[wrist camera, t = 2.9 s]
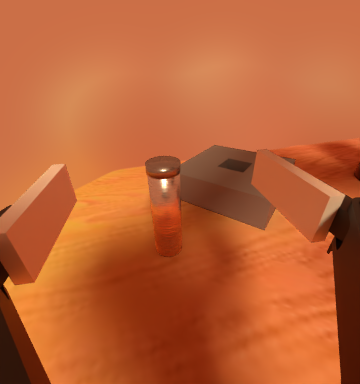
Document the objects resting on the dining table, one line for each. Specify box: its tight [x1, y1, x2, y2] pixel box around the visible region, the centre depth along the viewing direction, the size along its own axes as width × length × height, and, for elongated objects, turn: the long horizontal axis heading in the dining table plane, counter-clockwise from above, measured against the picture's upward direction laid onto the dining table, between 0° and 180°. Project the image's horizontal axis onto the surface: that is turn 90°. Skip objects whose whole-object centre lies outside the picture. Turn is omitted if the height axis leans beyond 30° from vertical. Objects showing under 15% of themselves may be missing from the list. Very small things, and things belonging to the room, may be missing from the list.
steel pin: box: [145, 156, 182, 257], centre depth 28 cm, size 4×4×14 cm
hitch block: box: [180, 145, 296, 230], centre depth 45 cm, size 20×20×6 cm
